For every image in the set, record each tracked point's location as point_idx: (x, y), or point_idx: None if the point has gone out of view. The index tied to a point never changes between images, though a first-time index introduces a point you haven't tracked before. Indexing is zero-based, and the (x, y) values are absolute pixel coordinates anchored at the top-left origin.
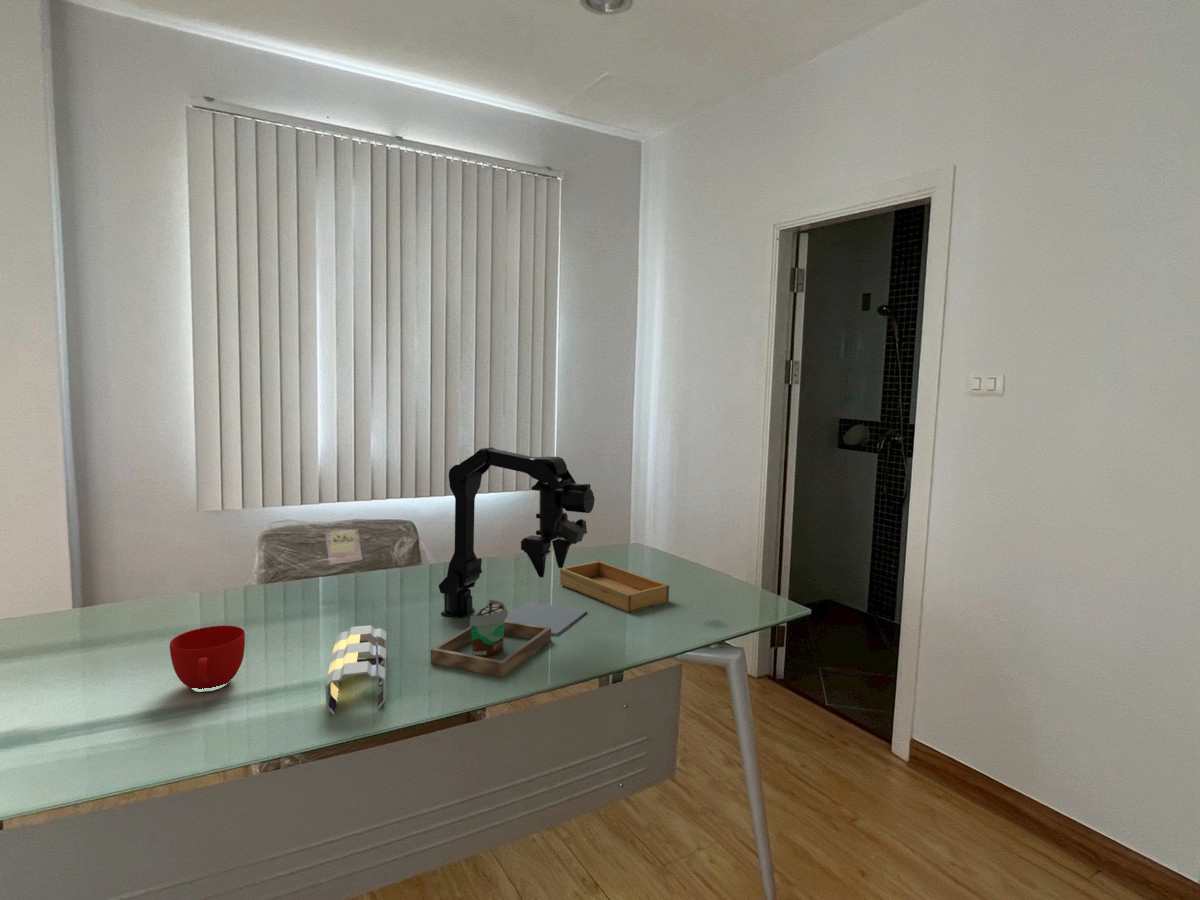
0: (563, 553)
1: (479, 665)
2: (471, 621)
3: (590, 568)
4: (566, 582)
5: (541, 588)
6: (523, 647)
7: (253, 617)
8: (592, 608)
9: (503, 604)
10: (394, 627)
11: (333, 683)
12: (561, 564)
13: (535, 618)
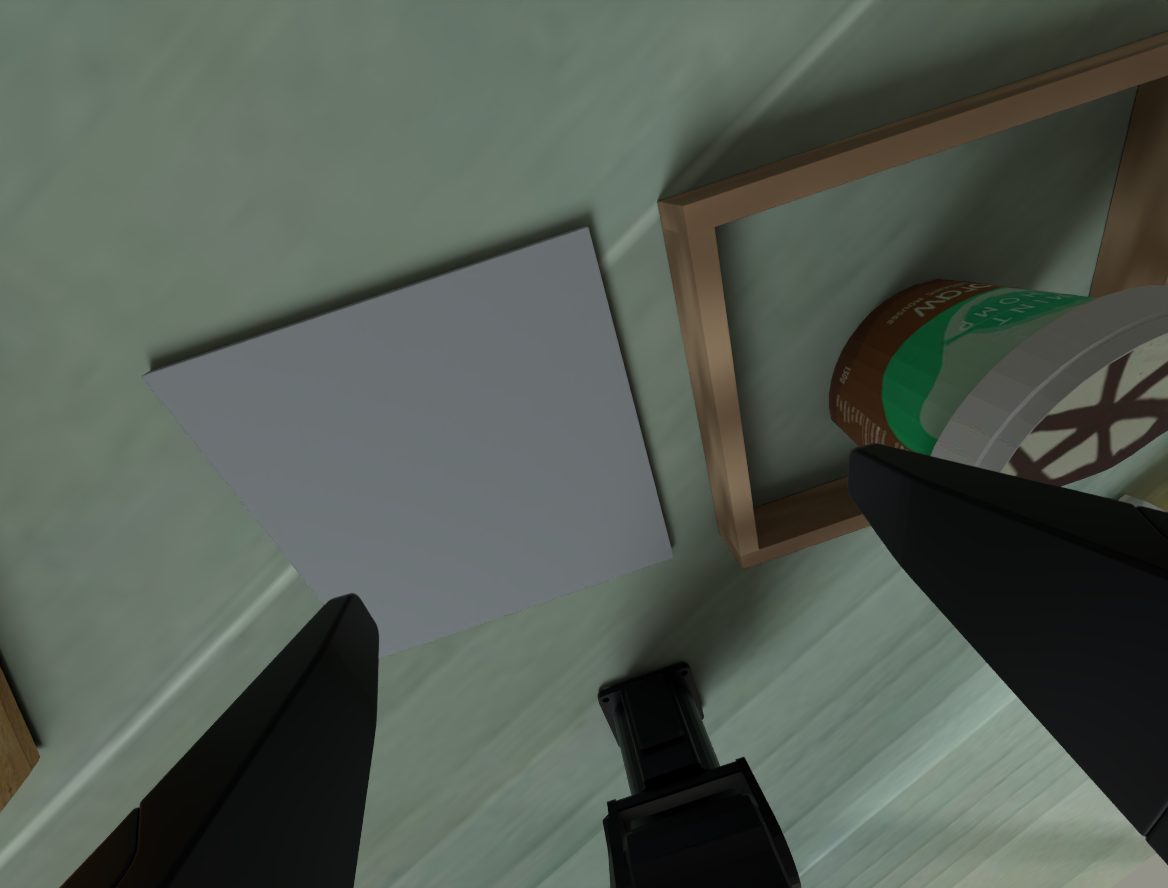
0: (232, 843)
1: None
2: None
3: None
4: (3, 747)
5: (174, 758)
6: (1031, 96)
7: (926, 855)
8: (60, 403)
9: (1028, 430)
10: (853, 697)
11: None
12: (344, 639)
13: (501, 481)
